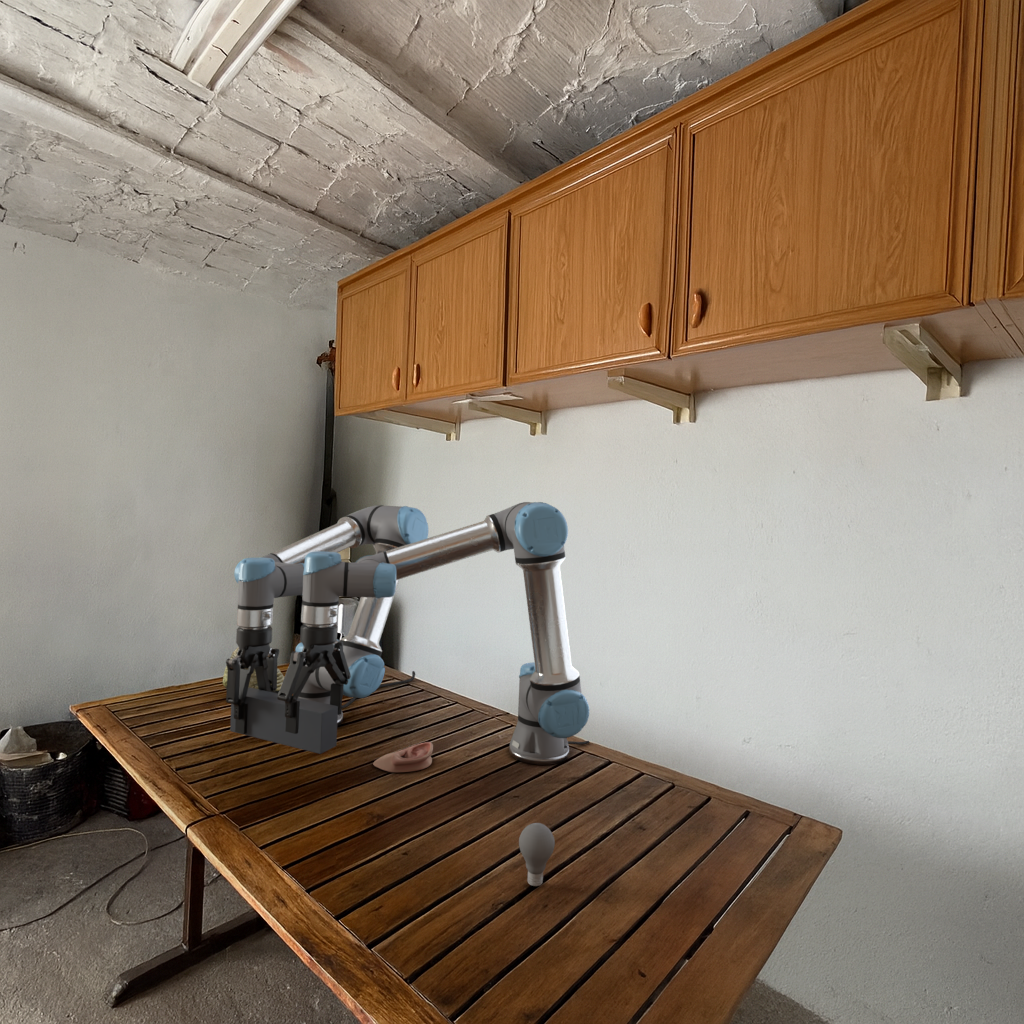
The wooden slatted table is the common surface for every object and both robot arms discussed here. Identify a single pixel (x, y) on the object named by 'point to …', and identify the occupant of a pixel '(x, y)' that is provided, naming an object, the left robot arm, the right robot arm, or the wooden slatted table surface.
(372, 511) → the left robot arm
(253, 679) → the fossil
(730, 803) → the wooden slatted table surface
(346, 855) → the wooden slatted table surface
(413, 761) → the anatomical model
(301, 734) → the bar
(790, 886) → the wooden slatted table surface
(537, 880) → the light bulb
